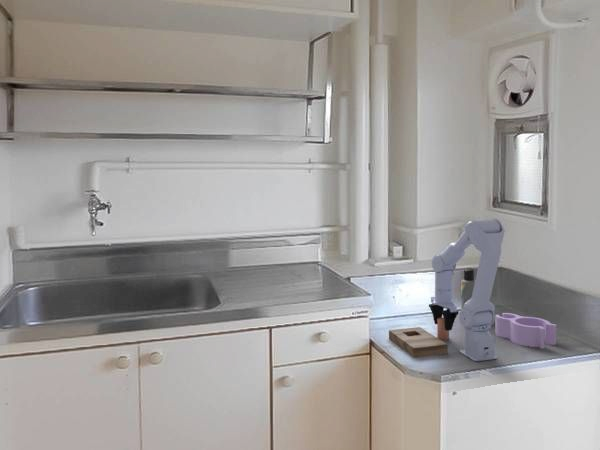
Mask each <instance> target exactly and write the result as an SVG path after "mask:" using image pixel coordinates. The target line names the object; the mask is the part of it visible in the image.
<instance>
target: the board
mask: <svg viewBox="0 0 600 450" xmlns="http://www.w3.org/2000/svg"><path fill="white" fill-rule="evenodd" d="M388 339H389V340H390V341H392V342H393V343H394V344H395V345H397V346H398V347H399V348H401V349H402V350H404V351H405V352H406V353H408V354H409V355H410V356H411V357H413V358H419V357H428V356H435V355H436V356H437V355H444V354H446V355H447V354H448V353H449V351H448V350H449V344H448V343H446V342H445V341H444V340H440V339H438V338H437V336H435V335H434V334H432V333H430V331H429V332H428V331H427V330H425V328H422V327H421V326H417V327H407V328H397V329H390V330H389V329H388Z"/></svg>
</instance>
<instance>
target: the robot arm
mask: <svg viewBox="0 0 600 450" xmlns="http://www.w3.org/2000/svg"><path fill="white" fill-rule="evenodd" d="M505 232H506V231H505V229H504V226H503V224H502V222H501V221H500V220H499V219H497V218H493V219H485V220H484V219H483V220H481V219H480V220H470V221H468V222H467V224H466V225H465V226H464V232H463V233H462V234H461V236H460V237H459V238H458V239H457V241H456V242H449V243H448V245H447V247H446V248H445V249H444V250H443V251H442V252H441V253H440V254H438V255H434V256H433V257H432V259H431V266H432V270H433V272H434V296H430V302H431V303H430V304H428V308H429V309H430V312H431V314H432V317H433V321H434V324H435V325H437V319H438V318H444V324H445V330H446V331H448V330H449V331H452V330H453V326H454V323H455V320H456V319H457V316H458V315H459V322H460V324H461V326H462V327H463V328H464V349H460V350H459V353H461V354H463V355H464V356H466V357H467V358H469V359H470V360H472V361H474V362H481V361H488V360H489V361H490V360H496V359H497V358H498V357H497V356H495V355H496V354H495V351H496V349H495V348H496V347H495V346H496V345H495V344H496V343H495V342H496V341H495V339H496V338H495V337H494V336H493V335H492V333H491V332H490V329H491V328H492V325H493V324H494V323H495V317H496V313H495V310H496V307H495V304H494V303H492V302H491V301H490V300H491V296H492V291H493V288H494V284H495V279H496V276H497V270H498V267H499V262H500V258H501V253H502V244H503V239H504V235H505ZM470 245H473V247H474V248H475V249H476V250H478V251H479V252H480V259H479V263H478V265H477V272H476V276H475V279H474V280H475V284H474V289H473V293H472V297H471V298H470V299H469V300H468V301H467V302H466V303H464V306H463V309H462V310H461V309H460V311H458V309H457V308H458V307H457V306H456V305H455V304H454V302H453V276H454V275H455V273H454V272H455V270H456V269H457V268H456V267H457V263H458V262H459V261H460V260H461V259H462V258H463V256H464V255H465V250H466V249H467V248H468V247H470Z"/></svg>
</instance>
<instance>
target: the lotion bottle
mask: <svg viewBox="0 0 600 450" xmlns="http://www.w3.org/2000/svg"><path fill="white" fill-rule="evenodd" d="M475 280H476V279H475V269H474V268H471V267H467V268H464V269H463V279H462V280H461V283H460V284H461V285H460V286H461V287H460V289H461V293H460V295H461V296H460V299H461V300H460V301H461V302H460V311H461V310H462V309H463V306H464V303H466V302H467V301H468V300H469V299H470V298H471V297H472V293H473V289H474V284H475Z"/></svg>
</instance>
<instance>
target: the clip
mask: <svg viewBox="0 0 600 450" xmlns="http://www.w3.org/2000/svg"><path fill="white" fill-rule="evenodd" d="M500 315H502V316H500ZM494 323H495V324H494V325H495V328H494V329H495V330H494V331H495V332H494V333H495V336H497V337H500V338H504V339H509V340H510V341H511V342H512V343H514V344H516V345H519V346H522V345H523V346H524V347H528V346H529V347H531V348H539V349H542V350H543V349H545V345H552V346H555V345H556V344H557V324H556V323H551V322H550V321H548V320H546V319H543V318H539V317H533V316H522V315H519V314H516V313H510V312H502V314H495V320H494ZM523 346H522V347H523Z"/></svg>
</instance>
